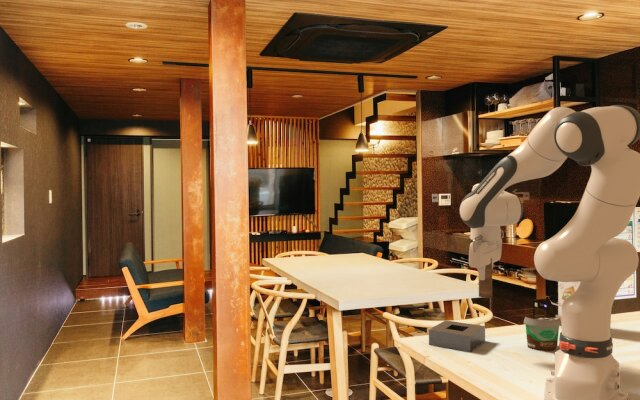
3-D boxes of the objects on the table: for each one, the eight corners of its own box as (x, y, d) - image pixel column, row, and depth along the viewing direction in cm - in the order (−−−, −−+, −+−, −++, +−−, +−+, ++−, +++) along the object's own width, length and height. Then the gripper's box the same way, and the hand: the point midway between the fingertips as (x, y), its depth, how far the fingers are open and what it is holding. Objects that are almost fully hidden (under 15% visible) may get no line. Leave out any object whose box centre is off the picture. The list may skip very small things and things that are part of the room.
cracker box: (557, 325, 195) (557, 268, 194) (570, 323, 197) (570, 267, 196) (587, 335, 182) (587, 274, 181) (600, 333, 184) (600, 273, 183)
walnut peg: (489, 298, 162) (489, 259, 161) (476, 296, 164) (476, 258, 164) (493, 295, 165) (493, 257, 165) (481, 294, 167) (481, 256, 167)
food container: (535, 353, 163) (535, 321, 163) (523, 347, 169) (523, 316, 169) (570, 350, 166) (570, 319, 165) (557, 344, 172) (557, 314, 171)
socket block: (470, 352, 166) (470, 336, 165) (428, 344, 174) (428, 329, 174) (485, 340, 177) (485, 326, 177) (445, 334, 185) (445, 320, 185)
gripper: (484, 237, 154) (484, 285, 154) (505, 231, 170) (505, 274, 171) (463, 236, 157) (463, 282, 158) (485, 231, 174) (486, 272, 174)
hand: (485, 278), depth 164 cm, fingers closed on walnut peg, 4 cm apart
